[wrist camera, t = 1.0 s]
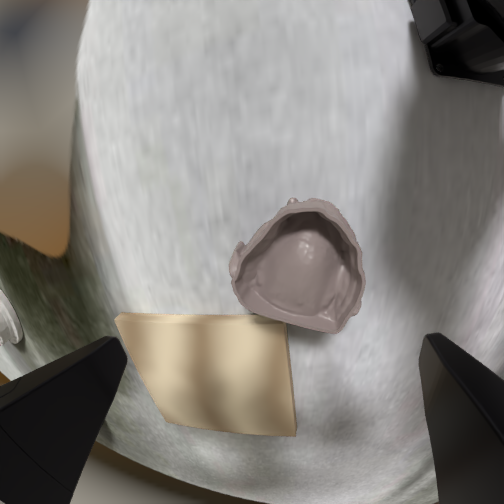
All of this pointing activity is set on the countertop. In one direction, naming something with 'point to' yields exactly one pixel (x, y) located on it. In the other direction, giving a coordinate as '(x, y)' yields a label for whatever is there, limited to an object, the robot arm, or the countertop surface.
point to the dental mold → (301, 268)
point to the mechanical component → (8, 322)
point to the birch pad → (215, 370)
